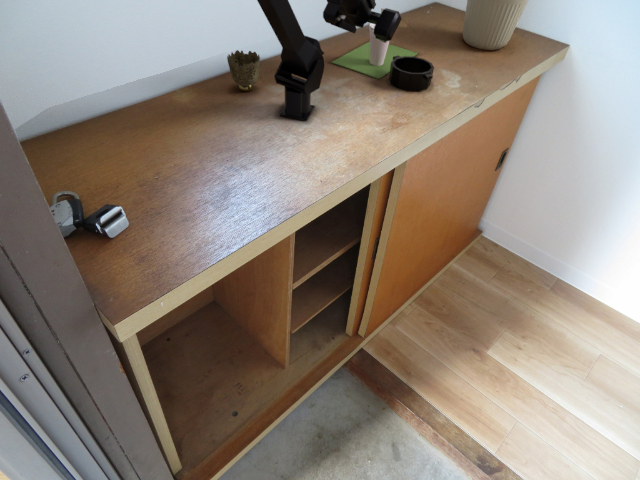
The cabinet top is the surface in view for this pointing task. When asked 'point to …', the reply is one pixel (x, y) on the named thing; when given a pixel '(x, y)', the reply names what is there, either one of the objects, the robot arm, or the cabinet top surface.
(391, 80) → the pot
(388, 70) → the cloth
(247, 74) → the cup
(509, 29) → the canister
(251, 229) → the cabinet top surface
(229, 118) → the cabinet top surface
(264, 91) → the cabinet top surface
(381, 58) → the smoothie
